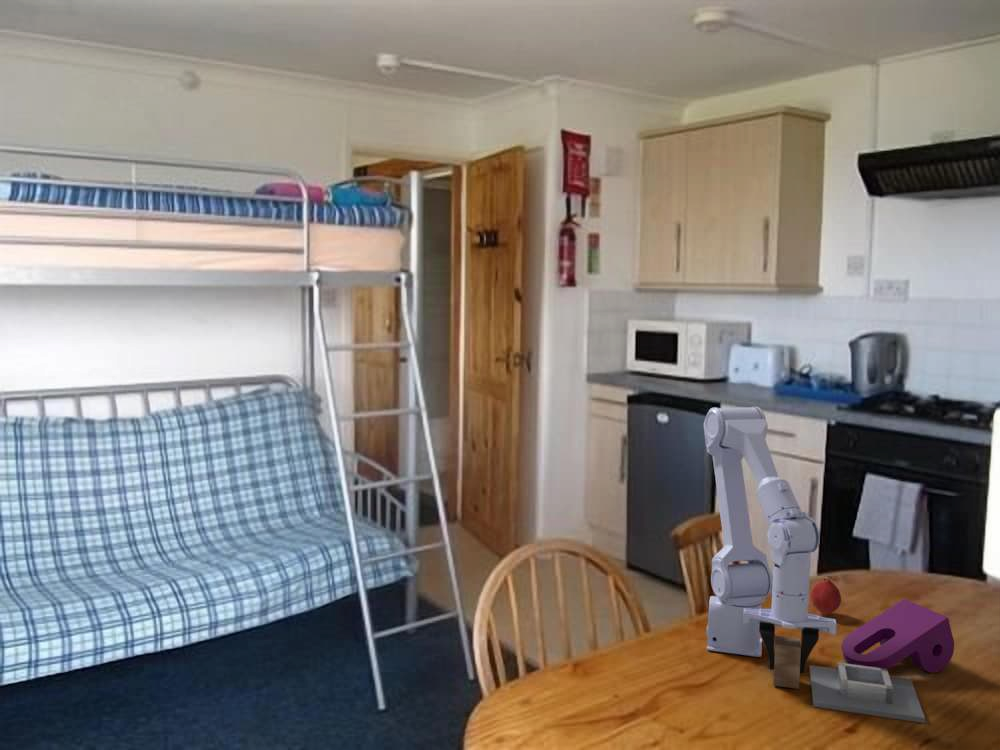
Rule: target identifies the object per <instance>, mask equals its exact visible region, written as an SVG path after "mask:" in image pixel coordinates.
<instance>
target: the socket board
mask: <svg viewBox="0 0 1000 750" xmlns="http://www.w3.org/2000/svg"><path fill="white" fill-rule="evenodd" d="M888 671H889V670H888V669H884V668H876V667H869V666H861V665H854V664H847V663H846V662H837V668H832V667H825V666H817V665H809V678H810V687H811V690H810V691H811V698H812V707H814V708H820V709H825V710H832V711H833V710H835V711H840V712H848V713H854V714H855V713H856V714H860V715H868V716H875V717H881V718H886V719H887V718H888V719H894V720H895V719H896V720H902V721H907V722H915V723H922V724H925V723H926V718H925V714H924V711H923V709H922V708H923V707H922V706H921V704H920V703H921V702H920V700H919V697H918V694H917V692H916V689H915V686H914V684H913V681H912V678H906V677H900V676H899V677H898V676H891V675H890V673H889V672H888Z"/></svg>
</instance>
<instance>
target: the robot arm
mask: <svg viewBox="0 0 1000 750" xmlns="http://www.w3.org/2000/svg"><path fill="white" fill-rule="evenodd" d="M768 427H769V426H768V422H767V419H766V414H765V412H763V410H762V408H760V407H759V406H751V407H721V408H720V407H716V406H715V407H711V408H710V409H709V410H708V412H707V413H706V416H705V419H704V422H703V431H704V438H705V439H704V440H705V446H706V453H707V454H709V455H711V456H712V462H713V469H714V476H715V484H716V485H715V486H716V492H717V493H716V494H717V501H718V507H719V508H718V509H719V515H720V516H719V517H720V522H721V523H720V524H721V531H722V532H721V533H722V538H723V539H722V540H723V547H722V548H721V549H720V550H719V551H718V553H716V554H715V555H714V556H713V557H712V559H711V575H710V584H711V588H712V590H713V593H714V594H715V595H711V596H709V605H708V617H707V618H708V620H707V621H708V622H707V625H706V633H705V634H706V636H707V644H706V645H707V646H706V650H707V651H710V652H711V651H712V652H720V653H727V654H734V655H741V656H748V657H755V658H762V653H763V644H764V647H765V649H766V652H767V658H768V662H769V670H774V650H775V634H776V627H783V628H784V629H789V630H790V629H793V630H796V629H797V630H798V629H799V630H801V638H800V642H801V658H800V675H802V674H804V673H805V668H806V665H807V662H808V659H809V657H810V655H811V653H812V652H813V649H814V648H815V646H816V644H817V643H818V642H819V639H820V638H819V637H820V635H819V634H820V633H819V632H824V633H828V634H829V635H833V636H834V635H835V636H836V635H837V621H836V620H837V619H835V618H829V617H825V616H820V615H817V614H812V613H808V612H809V610H808V609H809V597H810V593H809V592H810V591H809V590H810V575H811V562H812V561H811V560H812V559H811V557H812V553H814V552H816V551H817V549H818V547H819V545H820V540H821V539H820V531H819V527H818V525H817V522H816V521H815V520H814V519H813V518H812V517H810V516H809V515H808V513H807V512H806V511H802V509H801V508H800V505H799V503H798V500H797V498H796V497H795V494H794V492H793V490H792V488H791V487H792V486H790V483H789V482H788V481H787V480H786V479H783V478H781V477H779V474H778V472H777V469H776V466H775V463H774V460H773V457H772V454H771V452H770V449H769V446H768V443H767V440H766V438H767V434H768ZM743 459H744V460H745V462H746V464H747V466H748V467H749V469H750V471H751V473H752V475H753V476H754V478H755V480H756V481H757V484H758V487H757V489H756V491H755V496H756V498H757V501H758V502H759V505H760V507H761V510H762V512H763V514H764V517H765V519H766V521H767V523H768V526H769V528H768V531H767V535H766V536H767V541H768V542H767V543H768V545H769V551H770V554H769V556H770V560H771V562H772V563H773V569H772V571H771V569H770V567H769V563H768V557H767V554H765V553H764V552H763V551H761V550H760V549H759V548H757V547H756V546H755V545H754V543H753V536H752V529H751V520H750V515H749V507H748V506H749V505H748V500H747V492H746V487H745V477H744V470H743V462H742V460H743ZM733 562H748V563H735V564H734V563H733ZM770 595H771V608H762V603H765V602H766V597H768V596H770Z"/></svg>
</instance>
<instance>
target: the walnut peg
mask: <svg viewBox="0 0 1000 750" xmlns="http://www.w3.org/2000/svg"><path fill="white" fill-rule="evenodd" d="M800 658H801V638H799V637H792V636H791V637H790V636H785V635H775V639H774V670H773V672H772V675H773V676H772V678H773V679H772V680H773V681H772V685H773V686H776V687H781V688H791V689H796V690H799V689H800V677H801V676H800V675H801V673H800Z"/></svg>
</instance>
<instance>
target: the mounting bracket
mask: <svg viewBox="0 0 1000 750" xmlns="http://www.w3.org/2000/svg"><path fill="white" fill-rule="evenodd" d="M949 620H950V619H949V616H946V615H943V614H941V613H939V612H937V611H934V610H932V609H930V608H927V607H925V606H922V605H920V604H918V603H915V602H913V601H911V600H908V599H906V598H904V599H902V600H900V601H899V602H897V603H895V604H894V605H893V606H891V607H889V608H888V609H886V610H885V611H883V612H882V613H880V614H879V615H877V616H876V617H873V619H871V620H868V622H866V623H865V624H863V625H861V626H860V627H859V628H857V629H855V630H854V631H852V632H851V633H849V634H848V635H846V636H845V637H844V638H843V640H842V641H841V646H840V647H841V652H842V656H843V659H844V661H845V663H846V664H854V665H861V666H869V667H876V668H884V669H887V670H888V669H890V668H892V667H894V666H895V665H897V664H898V663H900V662H902V661H903V660H904V659H906V658H908V657H909V658H910V661H911V662H912V664H914V665H915V666H917V667H918V668H921V669H923V670H924V671H926V672H929V673H938V672H940V671H942V670H944V669H945V668H946V667H947V666H948V665H949V663H950V661H951V660H952V658H953V655H954V651H955V641H954V640H955V639H954V636H953V632H952V627H951V623H950V621H949ZM878 643H879V644H880V645H879V646H877V647H876V648H875V649H873V650H872V651H870V652H868V653H865V654H863V653H864V652H866V651H867V650H869V649H870V648H873V647H874V646H875V645H876V644H878Z"/></svg>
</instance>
